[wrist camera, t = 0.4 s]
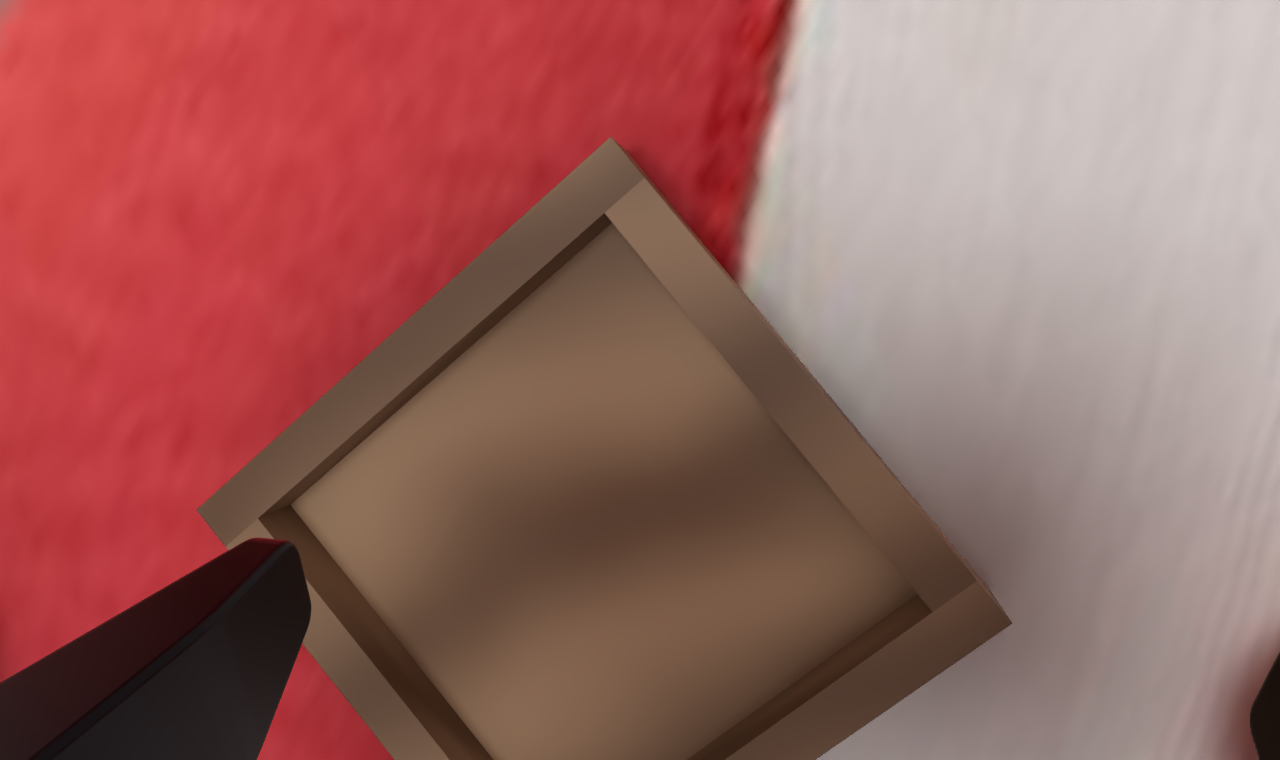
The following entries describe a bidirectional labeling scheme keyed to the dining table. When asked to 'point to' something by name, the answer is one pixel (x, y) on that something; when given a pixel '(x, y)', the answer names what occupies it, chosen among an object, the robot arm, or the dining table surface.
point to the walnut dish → (603, 513)
